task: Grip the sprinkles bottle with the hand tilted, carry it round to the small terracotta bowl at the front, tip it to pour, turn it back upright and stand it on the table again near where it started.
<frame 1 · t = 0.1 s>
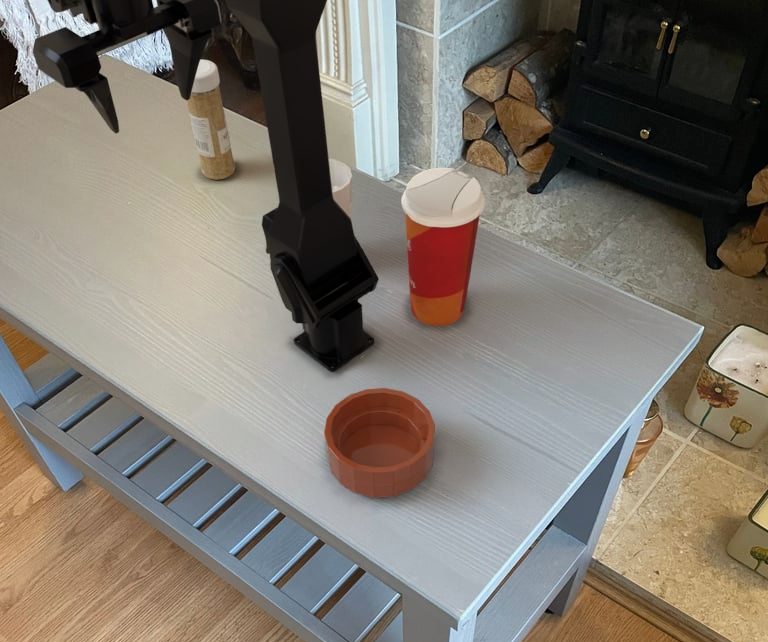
hand: (151, 114, 87), 15 cm above the table, tool pointing down, fingers open, 9 cm apart
sprinkles bottle: (219, 172, 107), on the table
bowl: (380, 458, 78), on the table
cup: (328, 261, 96), on the table
coffee cup: (437, 309, 91), on the table
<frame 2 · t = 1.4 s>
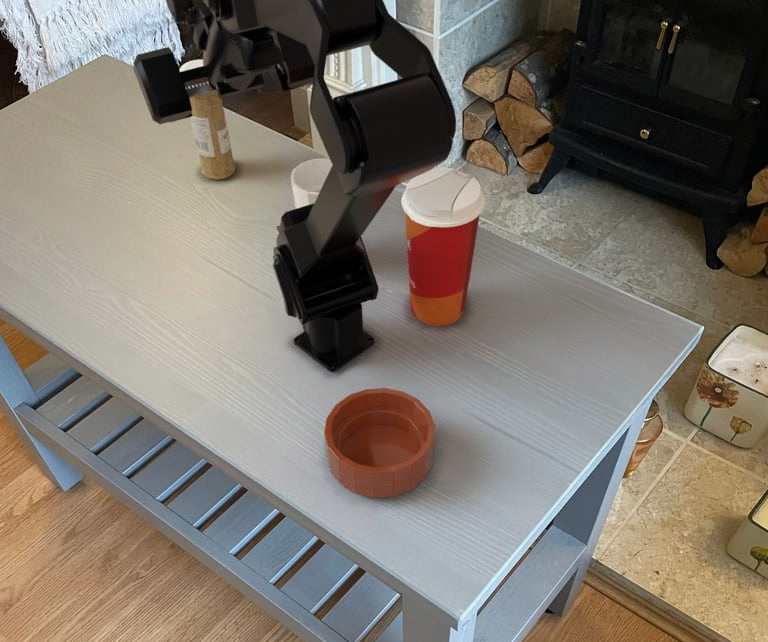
hand: (220, 98, 92), 13 cm above the table, tool tilted 45°, fingers open, 9 cm apart
nothing on the table moved.
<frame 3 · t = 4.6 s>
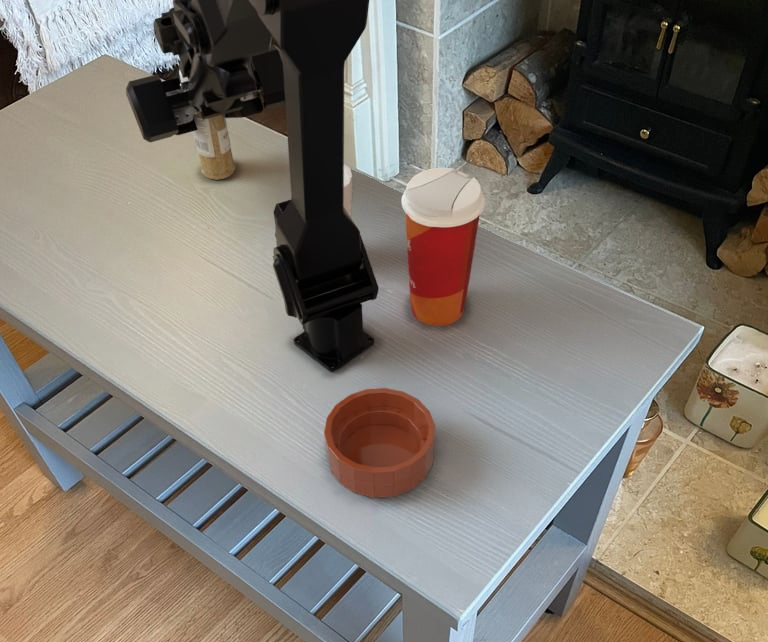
hand: (205, 117, 102), 7 cm above the table, tool tilted 45°, fingers closed on sprinkles bottle, 4 cm apart
sprinkles bottle: (218, 172, 107), on the table, touching gripper
everything else where it was.
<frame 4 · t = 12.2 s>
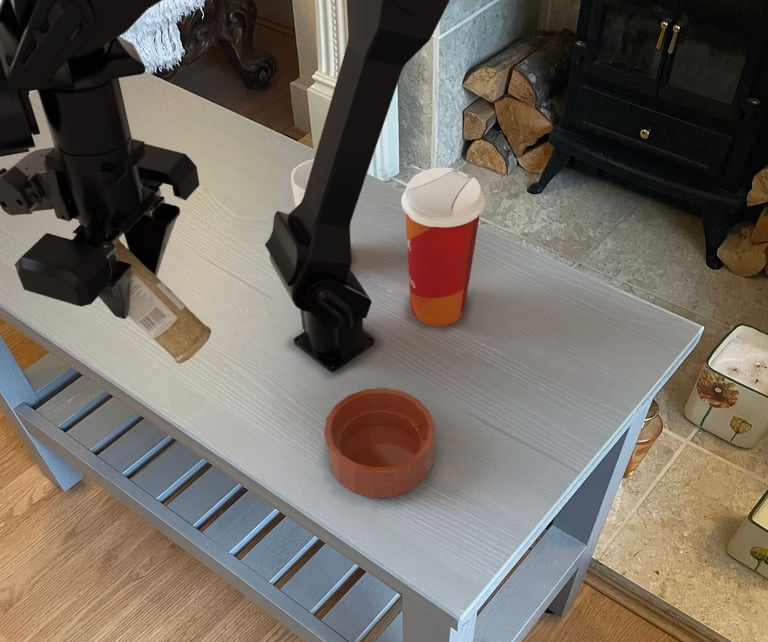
hand: (135, 301, 73), 13 cm above the table, tool pointing down, fingers closed on sprinkles bottle, 4 cm apart
sprinkles bottle: (197, 350, 75), point 8 cm above the table, touching gripper
everything else where it was.
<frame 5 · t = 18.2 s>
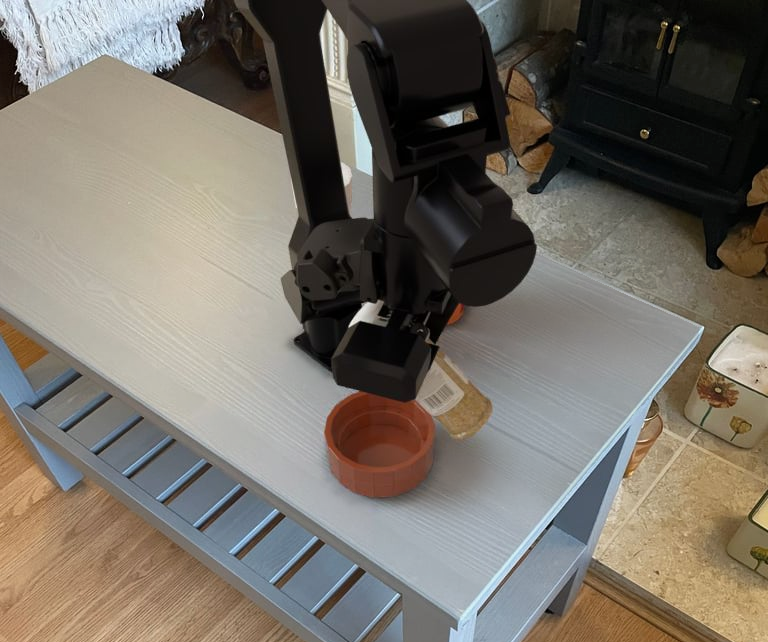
hand: (412, 376, 67), 13 cm above the table, tool pointing down, fingers closed on sprinkles bottle, 4 cm apart
sprinkles bottle: (474, 423, 69), point 9 cm above the table, touching gripper
everything else where it was.
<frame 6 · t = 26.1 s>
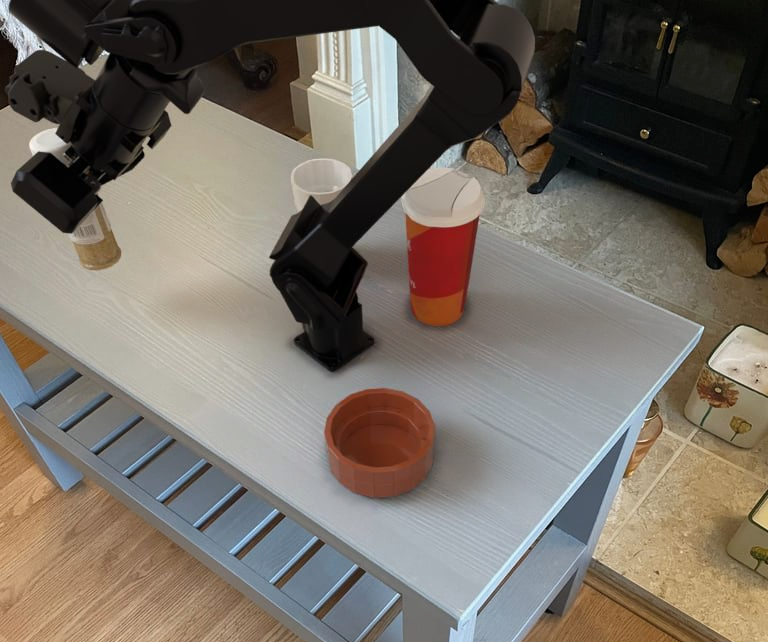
hand: (67, 202, 82), 13 cm above the table, tool tilted 40°, fingers closed on sprinkles bottle, 4 cm apart
sprinkles bottle: (102, 261, 87), point 6 cm above the table, touching gripper
everything else where it was.
when the fingers open (7 cm above the table, at t = 32.1 s): sprinkles bottle stays where it is, on the table.
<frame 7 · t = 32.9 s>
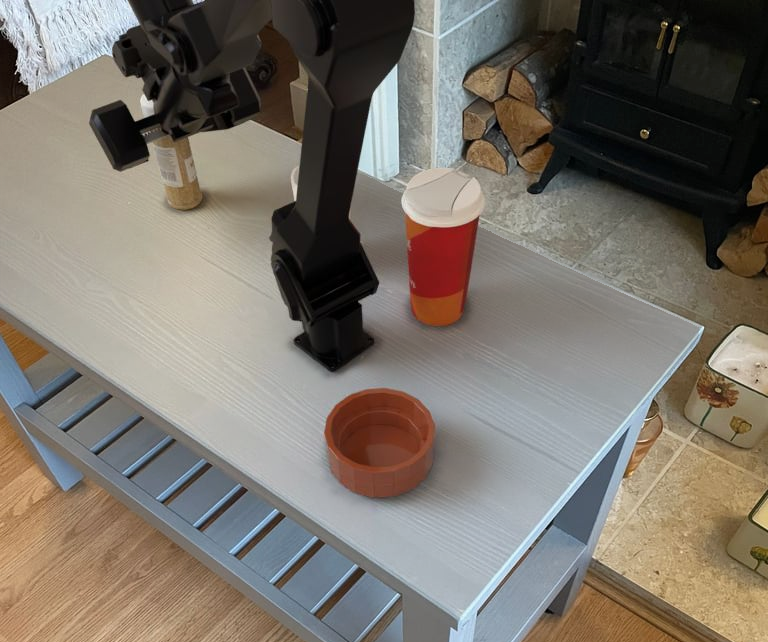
hand: (165, 140, 97), 7 cm above the table, tool tilted 45°, fingers open, 9 cm apart
sprinkles bottle: (185, 201, 103), on the table
everything else where it was.
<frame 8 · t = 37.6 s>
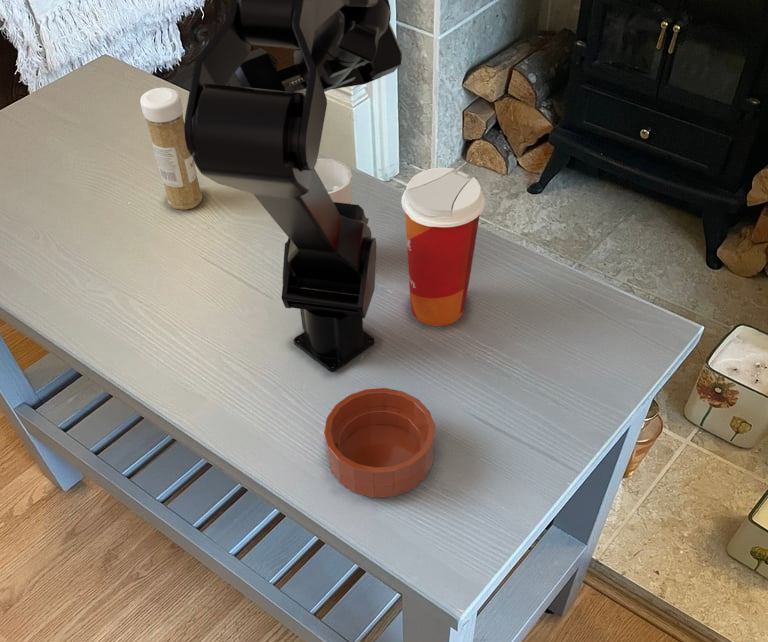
hand: (292, 98, 91), 14 cm above the table, tool tilted 45°, fingers open, 9 cm apart
nothing on the table moved.
at the end: sprinkles bottle tilted 0°; the gripper is holding nothing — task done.
